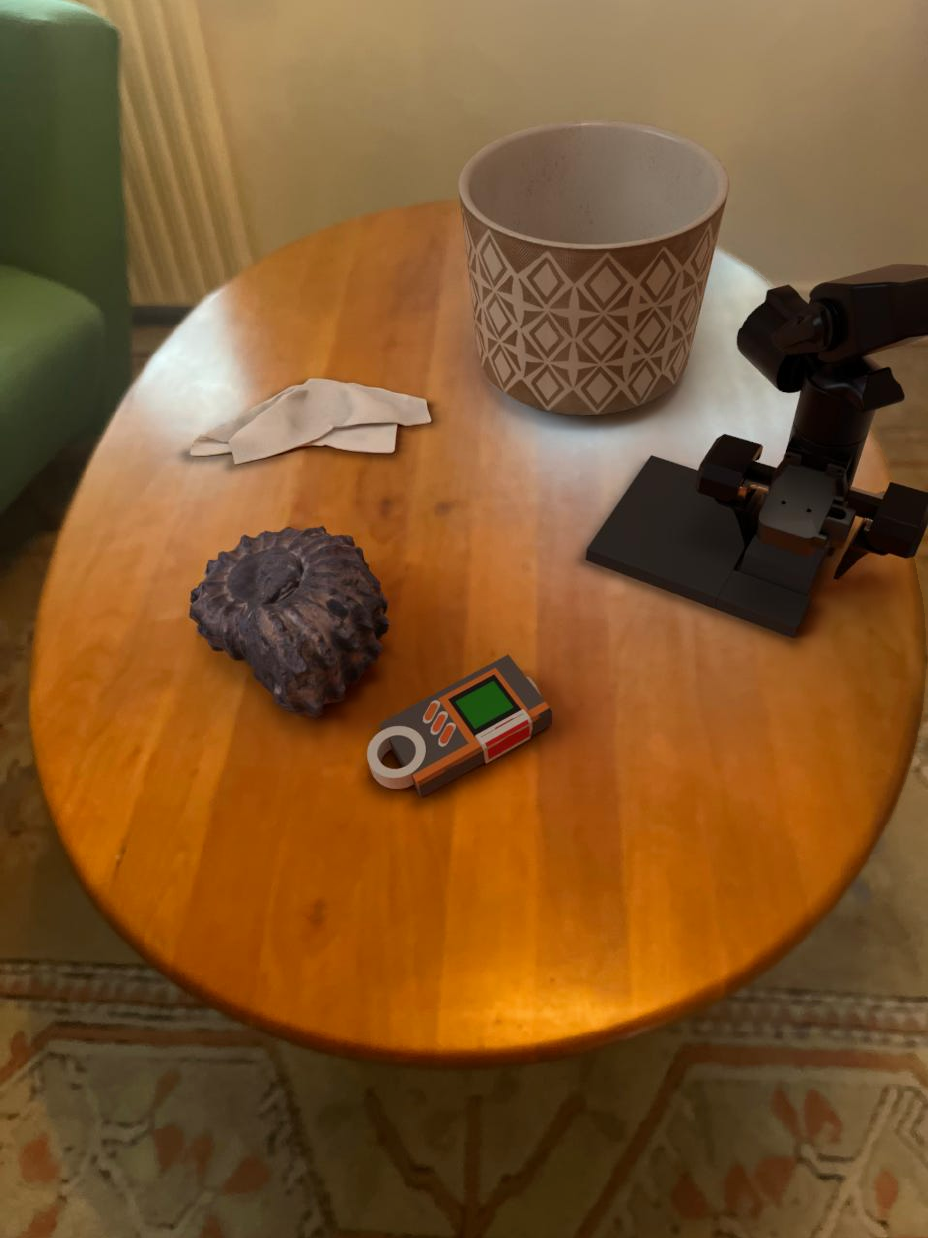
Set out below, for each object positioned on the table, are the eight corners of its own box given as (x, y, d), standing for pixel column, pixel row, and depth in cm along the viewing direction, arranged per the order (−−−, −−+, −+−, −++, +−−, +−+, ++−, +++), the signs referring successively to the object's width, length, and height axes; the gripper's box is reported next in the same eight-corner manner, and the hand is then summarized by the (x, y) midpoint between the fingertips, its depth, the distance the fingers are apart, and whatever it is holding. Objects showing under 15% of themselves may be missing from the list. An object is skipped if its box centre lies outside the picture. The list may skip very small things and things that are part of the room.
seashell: (331, 769, 78) (449, 632, 77) (208, 705, 70) (338, 552, 69) (265, 650, 93) (363, 535, 92) (157, 587, 85) (263, 459, 84)
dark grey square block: (825, 558, 89) (835, 532, 86) (804, 603, 85) (813, 576, 83) (760, 536, 91) (768, 509, 88) (737, 578, 88) (744, 552, 85)
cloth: (431, 376, 109) (429, 359, 108) (431, 455, 101) (429, 438, 99) (206, 388, 110) (201, 371, 108) (187, 467, 101) (181, 451, 99)
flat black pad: (844, 530, 91) (848, 519, 90) (793, 638, 83) (797, 627, 82) (649, 465, 98) (651, 454, 97) (585, 559, 90) (586, 548, 89)
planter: (451, 432, 103) (437, 241, 86) (485, 299, 119) (479, 116, 102) (696, 449, 99) (732, 252, 82) (697, 309, 116) (727, 121, 99)
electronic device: (352, 735, 76) (511, 649, 79) (358, 753, 78) (513, 669, 82) (391, 799, 72) (556, 706, 76) (396, 817, 74) (557, 726, 78)
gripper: (679, 449, 74) (661, 585, 86) (928, 524, 67) (871, 661, 79) (731, 373, 80) (707, 509, 92) (964, 434, 73) (906, 574, 85)
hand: (792, 562), depth 87 cm, fingers open, 8 cm apart
